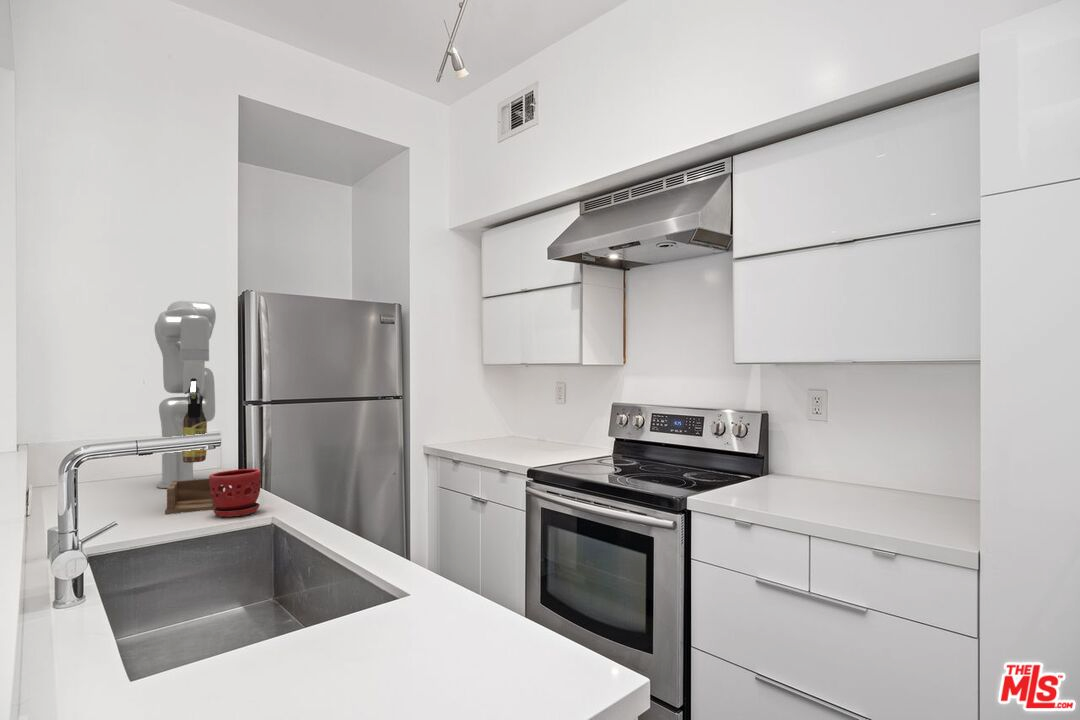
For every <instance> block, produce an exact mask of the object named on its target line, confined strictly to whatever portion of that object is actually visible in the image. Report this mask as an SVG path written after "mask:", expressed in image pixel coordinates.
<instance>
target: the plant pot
mask: <svg viewBox="0 0 1080 720" xmlns="http://www.w3.org/2000/svg"><path fill="white" fill-rule="evenodd" d="M261 471H262V470H260V469H259V468H241V469H240V468H239V469H233V470H232V469H230V470H226V471H218V472H215V473H212V474H210V475H209V484H210V493H211V497H212V500H213V502H214V504H215V506H216V507H217V508H215V509H213V513H214V514H215V515H216V516H218V517H221V518H230V517H231V518H232V517H233V516H235V517H240V516H241V515H242V516H246V514H247V515H251V514H250V513H252V514H254V512H256V511H257V510H258V509H259V508H260V503H258V502H257V500H258V498H259V496H260V492H261V487H262V486H261V484H262V483H261V481H262V472H261ZM230 486H231V487H230Z"/></svg>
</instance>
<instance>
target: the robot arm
mask: <svg viewBox="0 0 1080 720" xmlns="http://www.w3.org/2000/svg"><path fill="white" fill-rule="evenodd" d="M216 314H217V313H216V309H215V307H214V306H213V305H212V304H211V303H210V302H206V301H187V300H179V301H173V302H172V303H171V304H170V305H168V307H167V309H166V310H164V311H162V312H160V314H159V315H158V317H157V320H156V322H155V324H154V336H155V340H156V342H157V345H158V347H159V350H160V353H161V355H162V378H163V381H162V382H163V388H164V390H165V391H166V393H168V394H184V395H187V394H188V396H189V404H188V396H174V397H173V396H172V397H169V398H165V399H162V400H161V402H160V403H159V405H158V411H159V412H158V413H159V418H160V426H161V427H160V428H161V438H162V437H172V436H182V435H183V420H184V417H185V416H186V414H187V412H188V417H189V418H193V417H200V404H199V397H200V395H201V396H203V401H202V408H203V409H202V410H203V413H204V415H205V418H206V421H207V423H208V422H211V421H213V420H214V418H215V416H216V391H215V389H216V388H215V377H214V373H213V371H212V370H211V369H210V368H209V367H205V365H206V364H205V362H210V339H211V338H212V335H213V331H214V327H215V324H216V316H217V315H216ZM184 480H196V478H194V462H193V463H185V462H183V456H182V452H174V453H164V454H162V453H161V482H160V481H159V482H157V483H156V488H159V489H168V487H169V486H170V484H171V483H172V481H184Z"/></svg>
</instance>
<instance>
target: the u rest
mask: <svg viewBox="0 0 1080 720" xmlns="http://www.w3.org/2000/svg"><path fill="white" fill-rule="evenodd" d="M195 479H196V478H195ZM215 508H217V507H216V506H215V504H214V502H213V500H212V497H211V493H210V484H209V478H201V479H200V478H199V479H196V480H184V481H172V483H171V484H170V486H169V487H168V488H166V508H165V510H164V515H172V514H171V513H173V514H182V513H181V512H183V513H191V512H192V511H193V512H201V511H200V510H202V511H209V509H212V510H214V509H215ZM193 512H192V513H193Z"/></svg>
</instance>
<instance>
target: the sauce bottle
mask: <svg viewBox="0 0 1080 720" xmlns="http://www.w3.org/2000/svg"><path fill="white" fill-rule="evenodd" d="M187 397H188V404H189V395H187ZM202 401H203V396H201V395H200V397H199V404H200V417H193V418H189V417H188V412H187V414H186V416H185V417H184V420H183V436H186V435H195V434H205V433H207V434H208V431H207V430H208V422H207V421H206V418H205V415H204V413H203V410H202V409H203V408H202ZM182 456H183V462H185V463H193V464H194V463H200V462H204V461H206V458H207V449H206V450H204V449H200V450H191V451H182Z"/></svg>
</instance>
